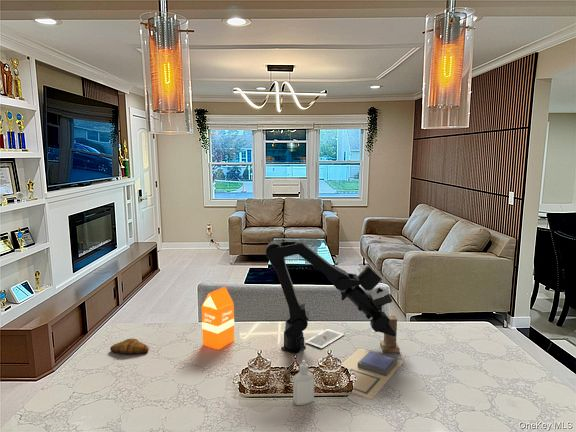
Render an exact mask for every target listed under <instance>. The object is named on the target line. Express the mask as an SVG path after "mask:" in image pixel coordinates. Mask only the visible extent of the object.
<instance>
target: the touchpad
mask: <svg viewBox="0 0 576 432" xmlns="http://www.w3.org/2000/svg"><path fill="white" fill-rule="evenodd" d="M344 335H345V333H342V332H339V331H336V330H332V329H330V328H326V329H324V330H322V331H321V332H319V333H317V334H315V335H314V336H312V337H310V338H308V339H307V340H304V343H307V344H309V345H312V346H314V347H317V348H320V349H323V348H325V347H326V346H328V345H330V344H331V343H333V342H335V341H336V340H338V339H339V338H341V337H342V336H344Z"/></svg>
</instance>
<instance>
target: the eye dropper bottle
mask: <svg viewBox="0 0 576 432" xmlns="http://www.w3.org/2000/svg"><path fill="white" fill-rule="evenodd" d="M298 366H299V372H297V373H296V374H294V376H293V379H292V380H293V384H292V387H293V388H292V390H293V391H292V396H293V398H292V399H293V403H294V404H295V406H296V405H297V406H305V405H308V404H310V403H313V402H314V400H315V375H314V374H313V373H312V372H311V371H309V364H307V363H306V359H302V362H301V363H300V364H299V365H298Z"/></svg>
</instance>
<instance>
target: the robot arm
mask: <svg viewBox="0 0 576 432" xmlns="http://www.w3.org/2000/svg"><path fill="white" fill-rule="evenodd" d="M265 255H266V258H267V259H268V261H269V262H270V264H271V266H272V267H273V268H274V271H275V272H276V274H277V275H276V276H277V278H278V280H279V283H280V286H281V289H282V292H283V294H284V297H285V300H286V303H287V306H288V313H289V318H288V319H287V320H286V321H285V324H284V325H285V326H284V328H285V329H284V331H283V346H281V350H282V351H285V352H288V353H291V354H295V355H297V354H298V353H300V352H301V351H302V350H305V349H306V348H307V347H306V345H305V342H304V341H305V336H304V332H303V331H305V330H306V329H307V328H308V325H309V324H308V323H309V322H308V321H309V320H310V318H309V311H308V310H307V309H306V303H305V302H304V303H301V302H300V301H299V298H298V296H297V293H296V290H295V288H294V287H295V286H294V284H293V281H292V279H291V276H290V275H291V274H290V272H289V270H288V267H287V264H286V258H288V257H291V256H296V255H298V256H300V257H301V258H303V259H304V260H305V261H307V262H308V263H309V264H311V265H312V266H313V267H314V268H316V269H317V271H320V272H321V273H322V274H323V275H324V276H325V277H326V278H327V279H328V281H329V282H330V283H331V284H332V285H333V286H334V288H335V289H336V290H338V291H339V292H340V298H341V301H344V300H345V299H346V298H347V299H349V300H350V302H352V304H354V305H355V307H356V308H357V310H358V311H359V312H362V313H363V315H364V316H365V317H366V319H367V320H369V325H370V327H371V329H372V330H373V331H374V332H375V333H381V334H384V333H385V334H388V335H391V336H393V337H394V336H396V337H397V335H396V333H395V332H394V330H393V329H392V327H391V326H390V325H389V322H390V319H389V317H388V316H387V315H388V314H386V313H385V312H384V311H383V306H384V305H387V304H391V303H392V302H393V299H392V297H391V295H390V293H389V291H388V289H386V288H384V289H383V288H381V286H380V287H379V286H378V287H377V285H379V284H380V283H381V282H382V281H383V278H382V277H381V276H380V275H379V274H378V272H377V271H376V270H374V269H372V268H371V267H370V266H369V265H367V266H365V268H364V269H363V270H362V271H361V272H360V273H359V274H358V275H357V273H350V272H347V271H346V270H344V269H342V268H340V267H338V266H336V265H333V264H331V263H330V262H328V261H327V260H326V259H325V258H323V257H322V256H321V255H320V254H318V253H317V252H316V251H314V250H313V249H312V248H311V247H309V246H308V245H306V243H304V241H302V240H296V241H280V240H271V241H270V242H269V243H267V247H266V249H265ZM375 287H377V288H375ZM374 288H375V293H374V294H373V295H371V294H370V293H367V292H366V291H368V292H370V291H372V290H374Z"/></svg>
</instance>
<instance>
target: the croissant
mask: <svg viewBox="0 0 576 432" xmlns="http://www.w3.org/2000/svg"><path fill="white" fill-rule="evenodd" d="M109 350H110V352H112V353H115V354H122V355H123V354H124V355H133V354H135V355H140V354H146V353H148V352H149V350H150V348H149V346H148V345H147V344H146V343H144V342H141V341H139V340H138V339H137V338H126V339H125V340H123V341H119V342H117V343H115V344H112V345H111V346H110V348H109Z"/></svg>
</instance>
